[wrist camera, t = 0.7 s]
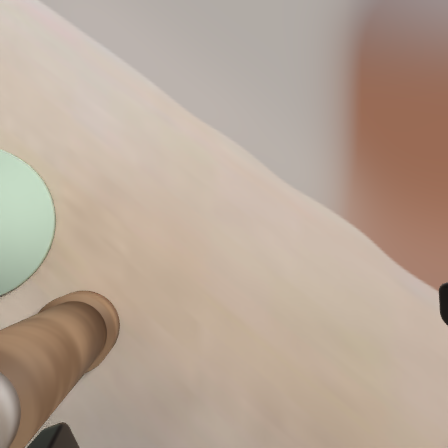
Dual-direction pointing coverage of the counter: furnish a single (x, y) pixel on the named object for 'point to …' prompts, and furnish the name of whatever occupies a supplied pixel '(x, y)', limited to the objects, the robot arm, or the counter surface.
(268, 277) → the counter surface
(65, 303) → the pepper mill
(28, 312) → the counter surface
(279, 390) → the counter surface
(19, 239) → the rubber mat
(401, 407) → the counter surface
